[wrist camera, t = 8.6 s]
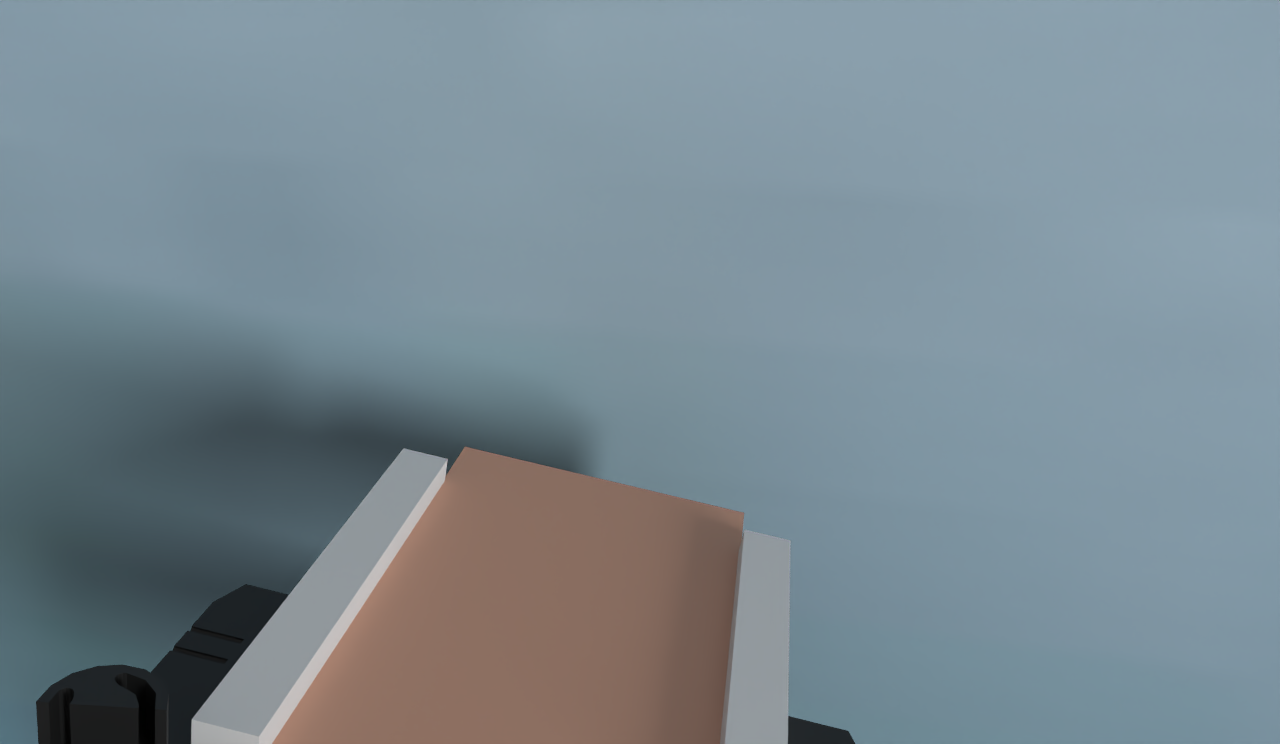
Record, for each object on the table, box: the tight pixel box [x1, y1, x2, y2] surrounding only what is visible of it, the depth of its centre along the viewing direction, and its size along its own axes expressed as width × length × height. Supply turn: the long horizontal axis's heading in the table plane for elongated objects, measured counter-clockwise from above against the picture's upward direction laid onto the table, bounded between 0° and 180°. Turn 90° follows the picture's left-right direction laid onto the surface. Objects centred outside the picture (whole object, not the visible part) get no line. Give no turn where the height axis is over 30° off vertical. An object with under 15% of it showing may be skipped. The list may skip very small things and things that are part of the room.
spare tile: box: [272, 447, 744, 744], centre depth 14 cm, size 2×5×9 cm, turn 79°
